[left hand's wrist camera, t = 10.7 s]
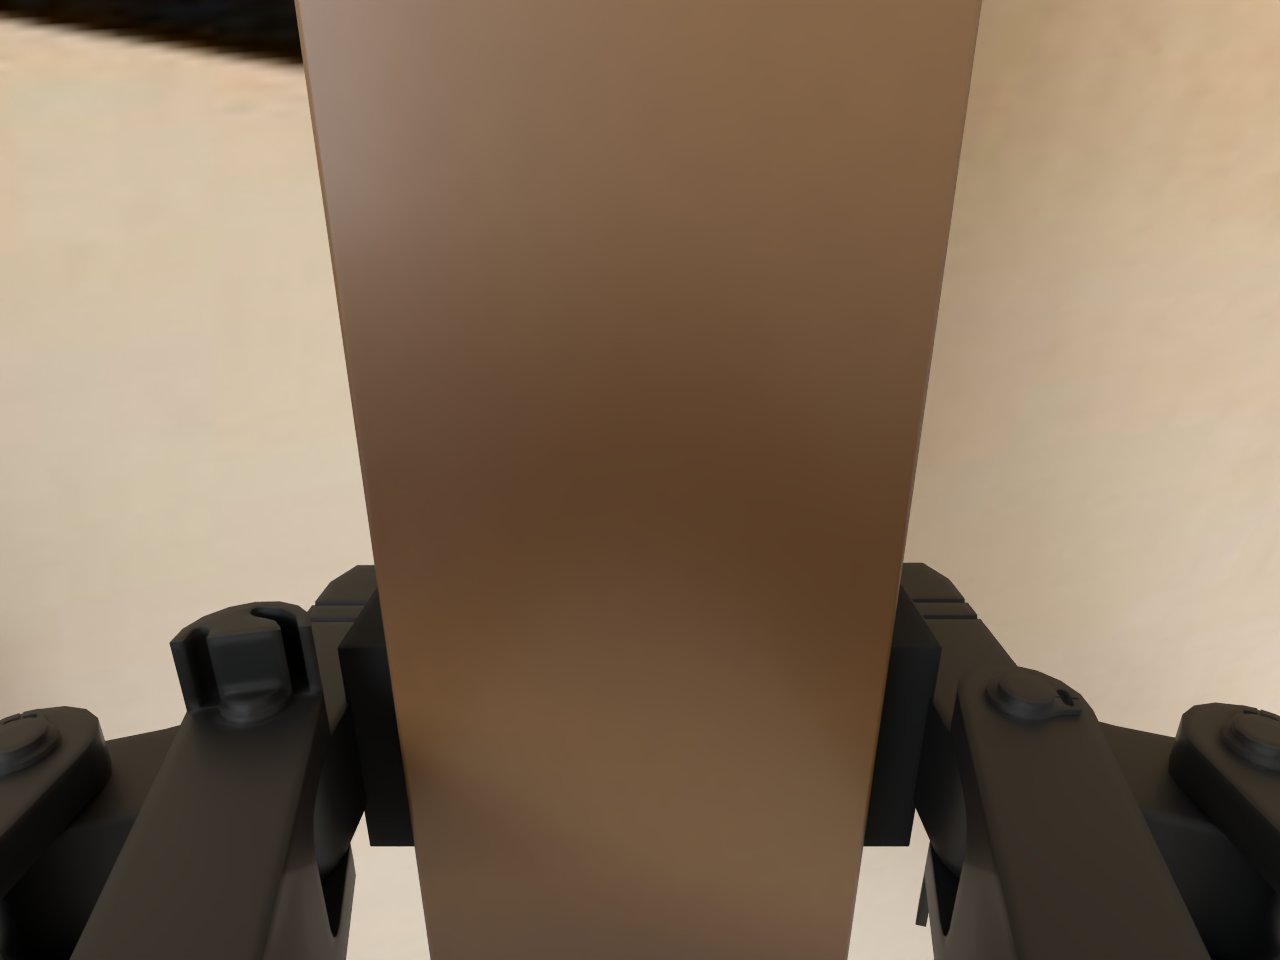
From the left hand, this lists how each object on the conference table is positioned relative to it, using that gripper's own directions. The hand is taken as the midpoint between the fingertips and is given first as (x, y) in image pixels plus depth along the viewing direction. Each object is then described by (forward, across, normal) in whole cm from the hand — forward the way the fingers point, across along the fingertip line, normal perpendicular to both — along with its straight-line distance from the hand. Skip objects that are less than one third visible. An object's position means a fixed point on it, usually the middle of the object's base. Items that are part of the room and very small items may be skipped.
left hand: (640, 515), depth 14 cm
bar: (+1, 0, -13) cm, 13 cm away
